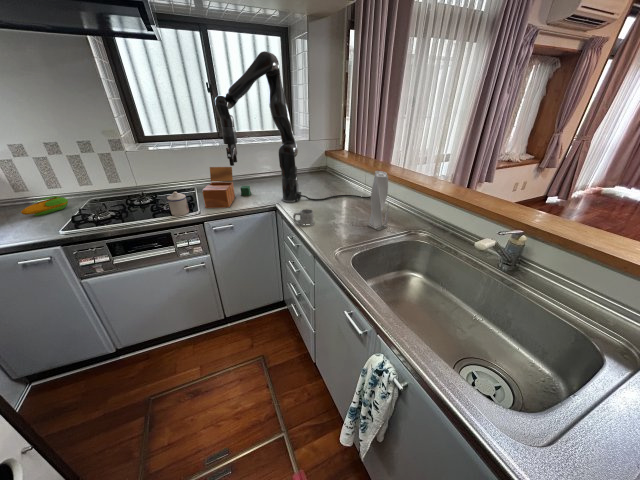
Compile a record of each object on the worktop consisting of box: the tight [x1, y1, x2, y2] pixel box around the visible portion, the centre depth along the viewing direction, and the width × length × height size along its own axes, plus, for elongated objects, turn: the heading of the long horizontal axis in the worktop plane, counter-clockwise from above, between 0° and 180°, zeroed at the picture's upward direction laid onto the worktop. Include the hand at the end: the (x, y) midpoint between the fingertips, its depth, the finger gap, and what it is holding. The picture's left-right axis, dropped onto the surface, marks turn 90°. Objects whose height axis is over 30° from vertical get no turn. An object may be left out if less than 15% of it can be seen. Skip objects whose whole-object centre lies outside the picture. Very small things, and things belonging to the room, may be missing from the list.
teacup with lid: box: [166, 191, 190, 217], centre depth 141 cm, size 12×9×12 cm
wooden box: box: [201, 181, 236, 209], centre depth 155 cm, size 17×13×10 cm
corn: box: [20, 195, 69, 217], centre depth 140 cm, size 7×8×20 cm
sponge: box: [240, 185, 251, 197], centre depth 169 cm, size 5×5×5 cm
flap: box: [209, 166, 234, 182], centre depth 160 cm, size 8×13×1 cm
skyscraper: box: [367, 170, 390, 232], centre depth 125 cm, size 8×8×28 cm
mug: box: [292, 208, 315, 228], centre depth 132 cm, size 10×7×7 cm, turn 90°
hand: (233, 163), depth 159 cm, fingers open, 8 cm apart
